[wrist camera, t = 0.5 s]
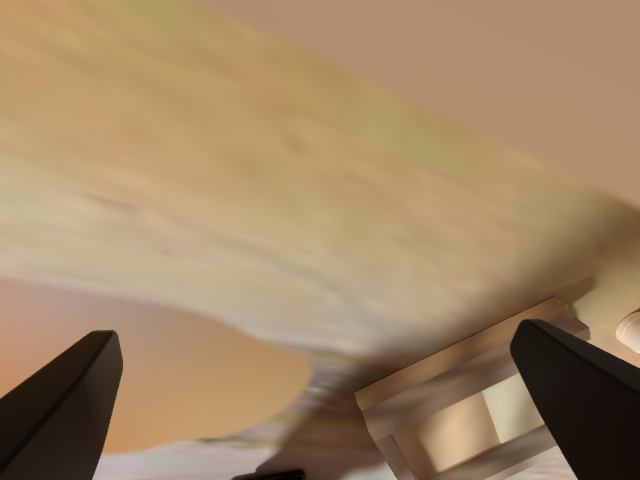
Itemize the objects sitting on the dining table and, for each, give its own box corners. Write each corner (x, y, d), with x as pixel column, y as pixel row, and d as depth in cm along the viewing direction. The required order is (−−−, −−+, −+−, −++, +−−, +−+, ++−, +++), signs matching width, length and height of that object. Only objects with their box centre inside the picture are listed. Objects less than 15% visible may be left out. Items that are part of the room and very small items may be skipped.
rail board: (410, 487, 34) (423, 522, 32) (353, 392, 29) (364, 425, 26) (577, 409, 34) (605, 437, 31) (555, 295, 28) (587, 319, 25)
